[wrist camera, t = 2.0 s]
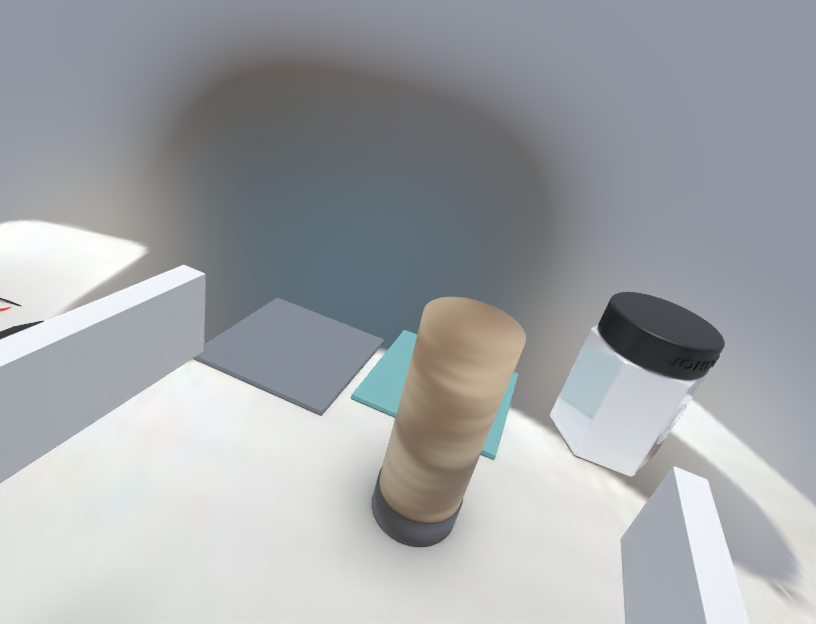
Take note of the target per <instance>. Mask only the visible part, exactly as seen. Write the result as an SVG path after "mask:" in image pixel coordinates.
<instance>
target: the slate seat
mask: <svg viewBox="0 0 816 624" xmlns="http://www.w3.org/2000/svg"><path fill="white" fill-rule="evenodd" d="M383 342H384V339H381V338H379V337H376V336H373V335H371V334H368V333H366V332H363V331H361V330H358V329H356V328H353V327H351V326H348V325H345V324H343V323H340V322H338V321H335V320H333V319H330V318H328V317H325V316H323V315H320V314H317V313H315V312H312V311H310V310H307V309H305V308H302V307H300V306H297V305H295V304H292V303H289V302H287V301H284V300H282V299H279V298H276V299H274V300H273V301H271V302H270V303H268V304H267V305H265V306H264V307H262V308H260V309H259V310H258V311H256V312H254V313H253V314H251V315H250V316H248V317H246V318H245V319H243V320H242V321H240V322H239V323H237V324H235V325H234V326H232V327H231V328H229V329H228V330H227V331H225V332H223V333H222V334H220V335H218V336H217V337H215V338H214V339H212V340H210V341H209V342H207V343H206V344H204V351H203V352H202V353H200V354H199V355H197V356H196V357H194V358H193V359H195V360H197V361H200V362H202V363H204V364H206V365H209V366H211V367H213V368H215V369H218V370H220V371H222V372H225V373H227V374H229V375H231V376H234V377H236V378H238V379H240V380H243V381H245V382H247V383H249V384H252V385H254V386H256V387H258V388H261V389H263V390H265V391H267V392H270V393H272V394H274V395H276V396H279V397H281V398H283V399H285V400H288V401H290V402H292V403H294V404H297V405H299V406H301V407H303V408H306V409H308V410H310V411H312V412H315V413H317V414H319V415H322V414H323V413H324V412H325V411H326V410H327V408H328V407H329V406H330V405H331V404H332V402H333V401H334V400H335V399H336V398H337V397H338V395H339V394H340V393H341V392H342V391H343V390H344V388H345V387H346V386H347V385H348V384H349V383H350V381H351V380H352V379H353V378H354V377H355V376H356V374H357V373H358V372H359V371H360V370H361V368H362V367H363V366H364V365H365V364H366V363H367V361H368V360H369V359H370V358H371V357H372V356H373V354H374V353H375V352H376V351H377V350H378V349H379V347H380V346H381V345H382V344H383Z"/></svg>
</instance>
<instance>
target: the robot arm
mask: <svg viewBox="0 0 816 624" xmlns="http://www.w3.org/2000/svg"><path fill="white" fill-rule="evenodd" d="M204 316H205V273H202V272H200V271H197V270H195V269H193V268H190V267H188V266H185V265H182V266H180V267H178V268H175V269H172V270H170V271H167V272H165V273H162V274H160V275H158V276H155V277H153V278H150V279H148V280H145V281H143V282H141V283H138V284H136V285H133V286H131V287H128V288H126V289H123V290H121V291H118V292H116V293H113V294H111V295H108V296H106V297H104V298H101V299H99V300H96V301H94V302H91V303H89V304H87V305H84V306H81V307H79V308H76V309H74V310H72V311H69V312H67V313H64V314H62V315H59V316H57V317H54V318H52V319H49V320H47V321H39V322H34V323H29V324H24V325H19V326H14V327H11V328H9V329H6V330H4V331H1V332H0V483H1V482H3V481H4V480H6V479H8V478H9V477H11V476H12V475H14V474H15V473H17V472H18V471H20V470H21V469H23V468H25V467H26V466H28V465H29V464H31V463H32V462H34V461H35V460H37V459H38V458H40V457H41V456H43V455H45V454H46V453H48V452H49V451H51V450H52V449H54V448H55V447H57V446H58V445H60V444H62V443H63V442H65V441H66V440H68V439H69V438H71V437H72V436H74V435H75V434H77V433H78V432H80V431H82V430H83V429H85V428H86V427H88V426H89V425H91V424H92V423H94V422H95V421H97V420H99V419H100V418H102V417H103V416H105V415H106V414H108V413H109V412H111V411H112V410H114V409H115V408H117V407H119V406H120V405H122V404H123V403H125V402H126V401H128V400H129V399H131V398H132V397H134V396H136V395H137V394H139V393H140V392H142V391H143V390H145V389H146V388H148V387H149V386H151V385H152V384H154V383H156V382H157V381H159V380H160V379H162V378H163V377H165V376H166V375H168V374H169V373H171V372H173V371H174V370H176V369H177V368H179V367H180V366H182V365H183V364H185V363H186V362H188V361H189V360H191V359H193V358H194V357H196V356H197V355H199V354H200V353H202V352H203V351H204V318H205V317H204ZM621 556H622V573H623V590H624V607H625V624H750V622H749V618H748V615H747V612H746V608H745V605H744V602H743V598H742V595H741V591H740V588H739V585H738V581H737V578H736V574H735V571H734V568H733V564H732V561H731V558H730V554H729V551H728V547H727V544H726V541H725V537H724V534H723V530H722V527H721V524H720V520H719V517H718V514H717V510H716V507H715V503H714V500H713V497H712V493H711V490H710V487H709V483H708V480H707V479H704V478H702V477H699V476H697V475H694V474H692V473H690V472H687V471H685V470H682V469H680V468H677V467H675V466H673V467H672V468H671V469H670V471H669V472H668V474H667V475H666V476H665V478H664V479H663V481H662V482H661V483H660V485H659V486H658V488H657V489H656V490H655V492H654V493H653V495H652V496H651V497H650V499H649V500H648V501H647V503H646V504H645V506H644V507H643V508H642V510H641V511H640V513H639V514H638V515H637V517H636V518H635V520H634V521H633V522H632V524H631V525H630V527H629V528H628V529H627V531H626V532H625V534H624V535H623V536H622V538H621Z"/></svg>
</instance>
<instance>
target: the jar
mask: <svg viewBox="0 0 816 624" xmlns="http://www.w3.org/2000/svg"><path fill="white" fill-rule="evenodd" d="M724 345H725V343H724V339H723V337H722V335H721V334H720V333H719V332H718V331H717V329H716V328H714V327H713V326H712V325H711V324H710V323H708V322H707V321H706V320H704V319H702V318H701V317H700V316H698V315H696V314H695V313H693V312H691V311H689V310H687V309H685V308H683V307H681V306H678V305H676V304H674V303H671V302H669V301H666V300H663V299H661V298H657V297H654V296H651V295H646V294H641V293H635V292H621V293H617V294H615V295H613V296H612V298H611V299H610V301H609V303H608V305H607V307H606V310H605V311H604V314H603V316H602V318H601V320H600V322H599V325H597V326H594V327H592V328H591V329H590V331H589V334H588V336H587V338H586V340H585V342H584V344H583V346H582V348H581V350H580V352H579V354H578V356H577V359H576V361H575V363H574V365H573V367H572V369H571V372H570V373H569V375H568V378H567V380H566V382H565V384H564V386H563V388H562V390H561V392H560V394H559V397H558V398H557V401H556V403H555V405H554V407H553V409H552V411H551V413H550V417H551V419H552V420H553V422H554V423H555V425H556V426H557V428H558V430H559V431H560V433H561V434H562V436H563V438H564V439H565V441H566V442H567V444H568V446H569V447H570V449H571V450H572V452H573V454H574V455H576V456H578V457H580V458H583V459H586V460H588V461H591V462H593V463H596V464H598V465H601V466H604V467H606V468H609V469H611V470H614V471H616V472H619V473H622V474H624V475H627V476H629V477H632V476H634V475H635V474H636V473H637V472H638V471H639V470H640V469H641V468H642V467H643V466H644V465H645V464H646V463H647V462H648V461H649V460H650V459H651V458H652V457H653V456H654V455H655V453H656V452H657V450H658V449H659V448H660V446H661V444H662V443H663V441H664V440H665V438H666V437H667V435H668V434H669V432H670V431H671V429H672V428H673V426H675V424H676V423H677V421H678V420H679V419H680V417H681V416H682V414H683V413H684V411H685V410H686V408H687V405H688V403H689V402H690V400H691V399H692V397H693V396H694V394H695V393H696V391H697V390H698V388H699V387H700V385H701V384H702V382H703V381H704V379H705V378H706V376H707V375H708V373H709V371H710V368H711V367H713V366H714V364H715V363H716V361H717V360H718V358H719V356H720V355H719V354H720V353H721V351H722V350H723V348H724Z"/></svg>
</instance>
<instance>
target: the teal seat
mask: <svg viewBox="0 0 816 624" xmlns="http://www.w3.org/2000/svg"><path fill="white" fill-rule="evenodd" d="M416 338H417V335H416V334H414V333H411V332H408V331H406V330H404V331H403V332H402V333H401V335H400V336H399V337H398V338H397V340H396V341H395V342H394V343H393V344H392V346H391V347H390V348H389V349H388V351H387V352H386V353H385V354H384V356H383V357H382V358H381V359H380V360H379V362H378V363H377V364H376V365H375V367H374V368H373V369H372V370H371V372H370V373H369V374H368V375H367V377H366V378H365V379H364V380H363V381H362V383H361V384H360V385H359V386H358V388H357V389H356V390H355V391H354V393H353V394H352V396H351V399H353V400H356V401H358V402H360V403H363V404H365V405H367V406H370V407H372V408H374V409H377V410H379V411H381V412H384V413H386V414H388V415H391V416H393V417H396V414H397V410H398V406H399V402H400V398H401V395H402V391H403V387H404V383H405V380H406V376H407V372H408V368H409V364H410V361H411V357H412V353H413V349H414V346H415V342H416ZM517 377H518V374H517V373H515V372H513V374H512V377H511V379H510V382H509V384H508V387H507V389H506V392H505V394H504V397H503V399H502V402H501V404H500V407H499V409H498V412H497V414H496V417H495V419H494V422H493V424H492V427H491V429H490V431H489V434H488V436H487V439H486V441H485V444H484V446H483V449H482V451H481V454H482V455H484V456H486V457H489V458H491V459H493V460H494V458H495V456H496V452H497V449H498V445H499V442H500V438H501V434H502V431H503V427H504V424H505V420H506V416H507V413H508V409H509V406H510V402H511V398H512V395H513V391H514V388H515V384H516V380H517Z"/></svg>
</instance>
